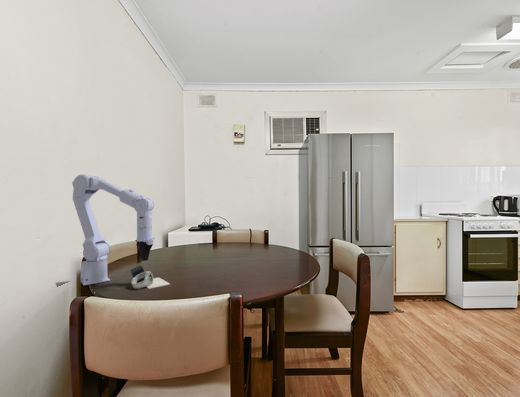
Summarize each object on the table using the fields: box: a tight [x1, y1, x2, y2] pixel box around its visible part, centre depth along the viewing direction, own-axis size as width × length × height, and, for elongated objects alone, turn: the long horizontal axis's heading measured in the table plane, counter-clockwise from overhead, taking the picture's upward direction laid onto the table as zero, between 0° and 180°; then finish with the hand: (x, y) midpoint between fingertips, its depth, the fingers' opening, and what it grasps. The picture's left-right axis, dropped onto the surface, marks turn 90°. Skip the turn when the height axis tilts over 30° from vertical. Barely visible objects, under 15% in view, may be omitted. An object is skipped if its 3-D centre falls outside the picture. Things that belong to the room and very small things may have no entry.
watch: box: [130, 265, 154, 290], centre depth 109 cm, size 6×8×11 cm
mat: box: [144, 276, 171, 290], centre depth 111 cm, size 8×12×1 cm, turn 40°
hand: (144, 260), depth 115 cm, fingers closed
